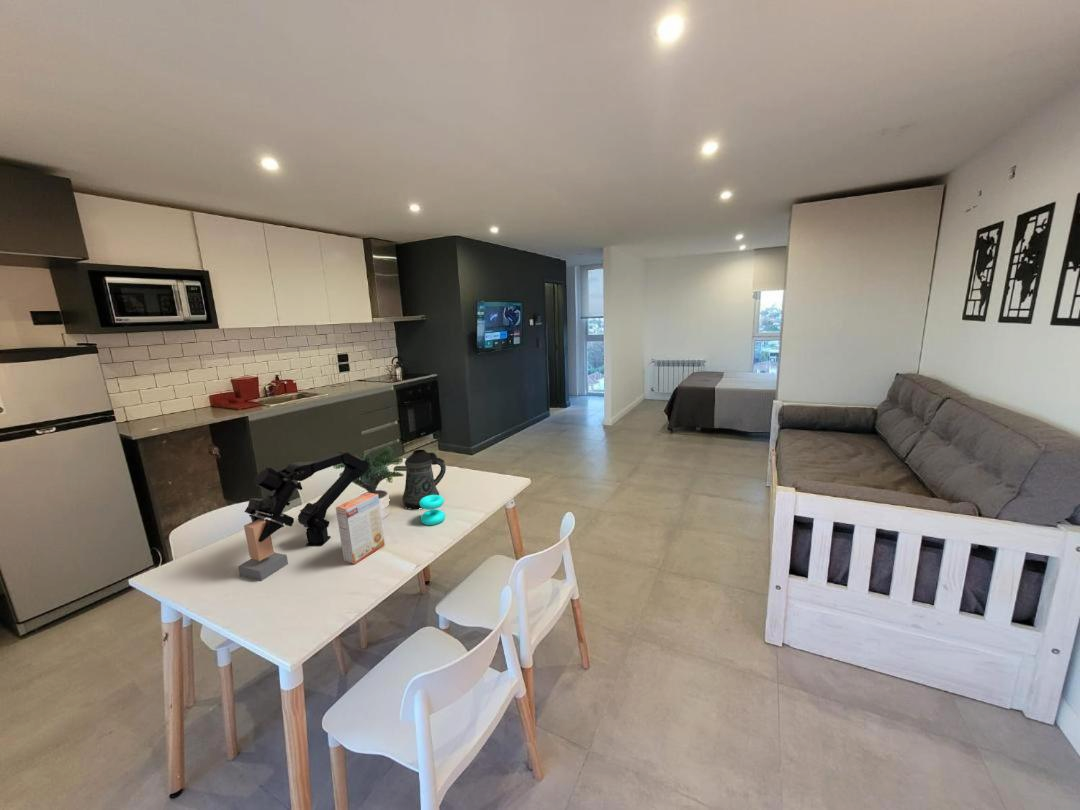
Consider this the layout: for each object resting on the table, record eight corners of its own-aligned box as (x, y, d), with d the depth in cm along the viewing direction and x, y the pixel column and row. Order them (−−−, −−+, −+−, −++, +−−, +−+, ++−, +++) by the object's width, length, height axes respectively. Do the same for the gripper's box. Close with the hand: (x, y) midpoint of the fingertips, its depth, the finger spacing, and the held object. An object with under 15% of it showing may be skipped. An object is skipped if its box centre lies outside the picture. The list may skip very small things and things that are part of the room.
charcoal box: (267, 560, 150) (265, 550, 149) (288, 565, 147) (286, 554, 146) (239, 576, 140) (237, 566, 140) (261, 581, 137) (259, 571, 136)
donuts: (417, 496, 176) (441, 492, 180) (419, 517, 178) (443, 513, 182) (420, 505, 167) (445, 501, 171) (422, 528, 169) (447, 523, 173)
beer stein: (397, 502, 194) (391, 451, 189) (434, 490, 207) (430, 442, 202) (412, 513, 182) (407, 459, 177) (451, 500, 195) (447, 449, 190)
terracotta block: (265, 550, 146) (259, 518, 143) (274, 553, 144) (268, 521, 141) (250, 557, 141) (243, 525, 139) (259, 561, 139) (253, 528, 137)
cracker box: (374, 542, 160) (368, 491, 155) (385, 545, 157) (379, 493, 153) (342, 561, 147) (334, 506, 143) (354, 565, 145) (346, 509, 140)
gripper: (245, 483, 145) (216, 527, 137) (279, 491, 137) (251, 538, 130) (271, 495, 154) (245, 537, 146) (305, 503, 146) (279, 548, 138)
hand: (254, 540), depth 140 cm, fingers closed on terracotta block, 5 cm apart
